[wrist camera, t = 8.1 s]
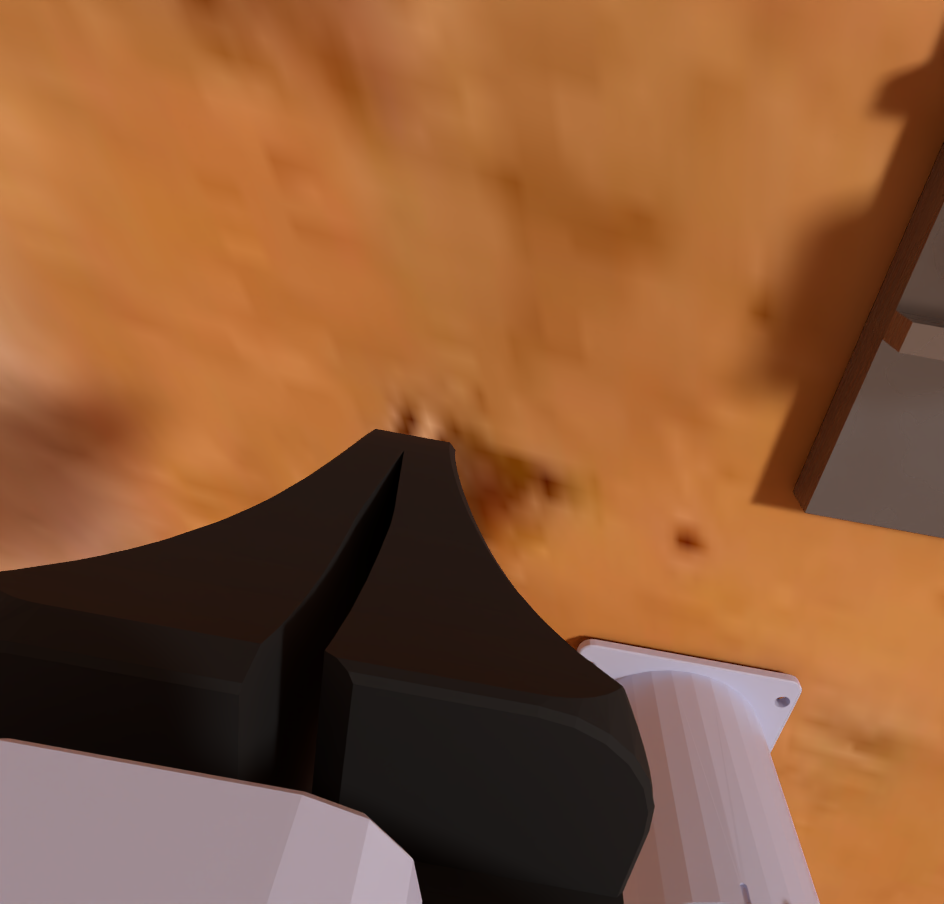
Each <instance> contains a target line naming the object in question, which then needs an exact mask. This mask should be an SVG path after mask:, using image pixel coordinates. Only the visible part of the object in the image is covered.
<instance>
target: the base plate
mask: <svg viewBox="0 0 944 904" xmlns="http://www.w3.org/2000/svg"><path fill="white" fill-rule="evenodd" d="M793 493H794V495H795V497H796V498H797V500H798V502H799V503H800V505H801V507H802V508H803V510H804V512H805V513H809V514H815V515H820V516H826V517H831V518H837V519H842V520H848V521H853V522H859V523H864V524H870V525H875V526H880V527H886V528H891V529H897V530H902V531H908V532H913V533H919V534H924V535H930V536H935V537H941V538H944V143H943V146H942V148H941V150H940V153H939V155H938V157H937V160H936V162H935V164H934V167H933V169H932V171H931V174H930V176H929V178H928V180H927V183H926V185H925V187H924V190H923V192H922V194H921V197H920V199H919V201H918V204H917V206H916V208H915V211H914V213H913V215H912V218H911V220H910V222H909V224H908V227H907V229H906V231H905V234H904V236H903V238H902V241H901V243H900V245H899V248H898V250H897V252H896V255H895V257H894V259H893V262H892V264H891V266H890V268H889V271H888V273H887V275H886V278H885V280H884V282H883V285H882V287H881V289H880V292H879V294H878V296H877V299H876V301H875V303H874V306H873V308H872V310H871V312H870V315H869V317H868V319H867V322H866V324H865V326H864V329H863V331H862V333H861V336H860V338H859V340H858V343H857V345H856V347H855V349H854V352H853V354H852V356H851V359H850V361H849V363H848V366H847V368H846V370H845V373H844V375H843V377H842V380H841V382H840V384H839V387H838V389H837V391H836V393H835V396H834V398H833V400H832V403H831V405H830V407H829V410H828V412H827V414H826V417H825V419H824V421H823V424H822V426H821V428H820V431H819V433H818V435H817V437H816V440H815V442H814V444H813V447H812V449H811V451H810V454H809V456H808V458H807V461H806V463H805V465H804V468H803V470H802V472H801V475H800V477H799V479H798V481H797V484H796V486H795V488H794V491H793Z"/></svg>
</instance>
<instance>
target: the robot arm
mask: <svg viewBox="0 0 944 904" xmlns="http://www.w3.org/2000/svg"><path fill="white" fill-rule="evenodd" d="M590 661H591V662H590ZM592 662H593V663H592ZM801 691H802V688H801V686H800V683H799V681H798V679H797V678H796V677H795V676H792V675H789V674H784V673H778V672H773V671H767V670H762V669H756V668H751V667H745V666H740V665H734V664H729V663H723V662H718V661H712V660H707V659H701V658H696V657H690V656H685V655H679V654H674V653H668V652H663V651H657V650H652V649H646V648H641V647H635V646H630V645H624V644H619V643H613V642H608V641H602V640H597V639H588V640H584V641H583V642H582V643H580V645H579V646H578V649H577V651H576V650H575V649H574V648H572V647H571V646H570V645H569V644H568V643H567V642H566V641H565V640H564V639H563V638H561V637H560V636H559V635H558V634H557V633H556V632H555V631H554V630H553V629H552V628H551V627H550V626H548V625H547V624H546V623H545V622H544V621H543V619H542V618H541V617H540V616H539V615H538V614H537V613H536V612H535V611H534V610H533V609H532V608H531V606H530V605H529V604H528V603H527V602H526V601H525V600H524V598H523V597H522V596H521V595H520V594H519V593H518V591H517V590H516V589H515V588H514V586H513V585H512V584H511V582H510V581H509V580H508V578H507V577H506V575H505V574H504V572H503V571H502V569H501V568H500V566H499V565H498V563H497V562H496V560H495V558H494V557H493V555H492V553H491V552H490V550H489V548H488V546H487V544H486V543H485V541H484V539H483V537H482V535H481V533H480V531H479V529H478V527H477V525H476V522H475V520H474V518H473V516H472V513H471V511H470V508H469V506H468V503H467V500H466V498H465V495H464V492H463V489H462V486H461V483H460V480H459V476H458V472H457V467H456V462H455V449H454V448H453V446H452V445H451V444H450V443H449V442H444V441H438V440H433V439H427V438H422V437H417V436H411V435H406V434H400V433H395V432H389V431H384V430H378V429H375V430H373V431H372V432H370V433H368V434H367V435H366V436H364V437H363V438H361V439H360V440H359V441H357V442H356V443H355V444H353V445H352V446H351V447H349V448H348V449H347V450H345V451H344V452H343V453H341V454H340V455H338V456H337V457H336V458H334V459H333V460H331V461H330V462H329V463H327V464H326V465H324V466H323V467H321V468H320V469H318V470H317V471H315V472H314V473H312V474H311V475H309V476H308V477H306V478H305V479H303V480H301V481H300V482H298V483H296V484H294V485H293V486H291V487H289V488H288V489H286V490H284V491H282V492H281V493H279V494H277V495H276V496H274V497H272V498H270V499H268V500H266V501H264V502H262V503H260V504H258V505H256V506H254V507H251V508H249V509H247V510H245V511H242V512H240V513H238V514H235V515H233V516H231V517H229V518H226V519H224V520H221V521H219V522H216V523H213V524H210V525H207V526H204V527H201V528H198V529H195V530H192V531H189V532H186V533H184V534H181V535H178V536H175V537H172V538H169V539H166V540H162V541H159V542H155V543H151V544H148V545H144V546H140V547H136V548H132V549H128V550H124V551H119V552H115V553H110V554H106V555H102V556H97V557H92V558H87V559H81V560H76V561H70V562H63V563H56V564H50V565H43V566H37V567H30V568H24V569H17V570H10V571H1V572H0V904H820V902H819V899H818V896H817V893H816V890H815V887H814V884H813V881H812V878H811V875H810V872H809V869H808V866H807V863H806V860H805V857H804V854H803V851H802V848H801V845H800V842H799V839H798V836H797V833H796V830H795V827H794V824H793V821H792V818H791V815H790V812H789V809H788V806H787V803H786V800H785V797H784V794H783V791H782V788H781V785H780V782H779V779H778V776H777V773H776V770H775V767H774V764H773V761H772V758H771V755H770V753H771V751H772V749H773V747H774V745H775V743H776V741H777V739H778V737H779V735H780V733H781V731H782V729H783V727H784V725H785V724H786V722H787V720H788V718H789V716H790V714H791V712H792V710H793V708H794V706H795V704H796V702H797V700H798V698H799V696H800V694H801ZM779 697H784V698H782V699H777V698H779Z"/></svg>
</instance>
